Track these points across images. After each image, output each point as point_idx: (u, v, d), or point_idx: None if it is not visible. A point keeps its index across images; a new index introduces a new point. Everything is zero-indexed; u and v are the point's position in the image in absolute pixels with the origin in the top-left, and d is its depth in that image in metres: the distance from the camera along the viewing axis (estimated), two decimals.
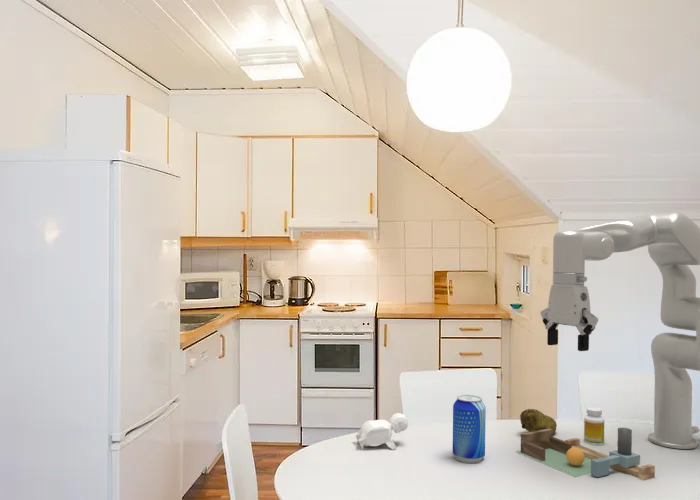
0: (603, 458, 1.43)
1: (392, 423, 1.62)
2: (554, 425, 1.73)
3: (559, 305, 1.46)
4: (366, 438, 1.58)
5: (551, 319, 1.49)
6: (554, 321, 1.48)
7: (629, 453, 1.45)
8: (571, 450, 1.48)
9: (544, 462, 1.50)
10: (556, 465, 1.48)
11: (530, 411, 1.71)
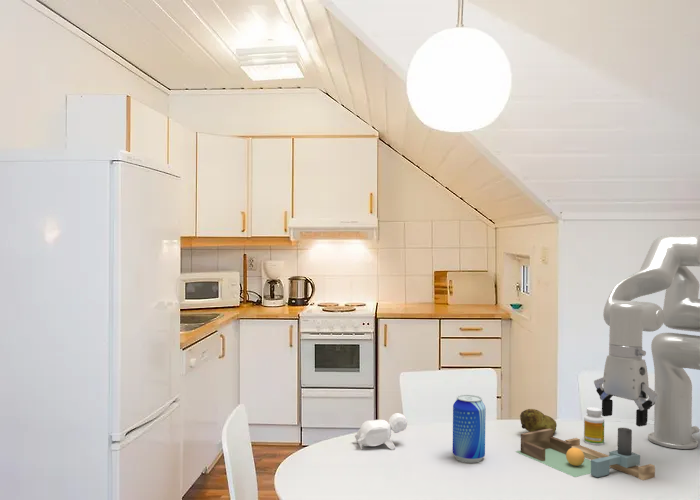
0: (603, 458, 1.43)
1: (391, 423, 1.62)
2: (554, 425, 1.73)
3: (616, 377, 1.45)
4: (365, 438, 1.58)
5: (607, 390, 1.48)
6: (610, 393, 1.47)
7: (629, 453, 1.45)
8: (571, 450, 1.48)
9: (544, 462, 1.50)
10: (556, 465, 1.48)
11: (530, 411, 1.71)
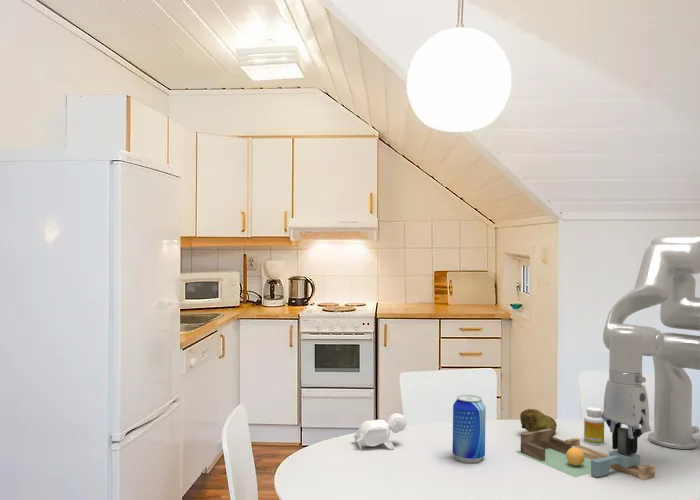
0: (603, 458, 1.43)
1: (390, 423, 1.62)
2: (554, 425, 1.73)
3: (616, 403, 1.45)
4: (364, 438, 1.58)
5: (607, 416, 1.48)
6: (610, 418, 1.47)
7: None
8: (571, 450, 1.48)
9: (544, 462, 1.50)
10: (556, 465, 1.48)
11: (530, 411, 1.71)
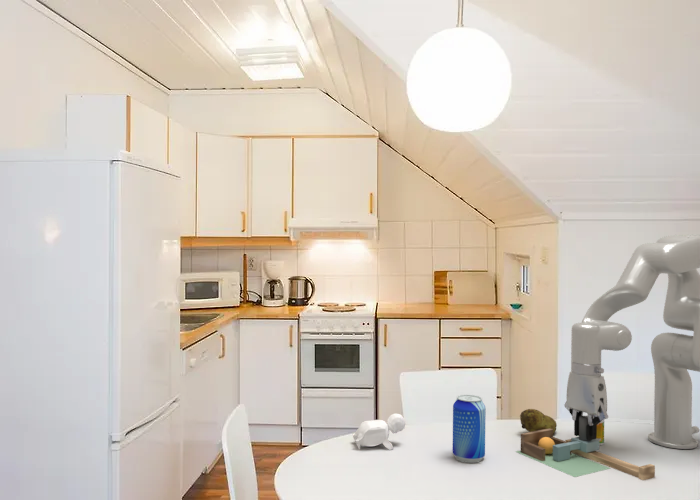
0: (564, 444, 1.53)
1: (389, 423, 1.62)
2: (554, 425, 1.73)
3: (577, 393, 1.56)
4: (363, 438, 1.58)
5: (569, 404, 1.59)
6: (572, 407, 1.58)
7: None
8: (546, 452, 1.55)
9: (544, 462, 1.50)
10: (556, 465, 1.48)
11: (530, 411, 1.71)
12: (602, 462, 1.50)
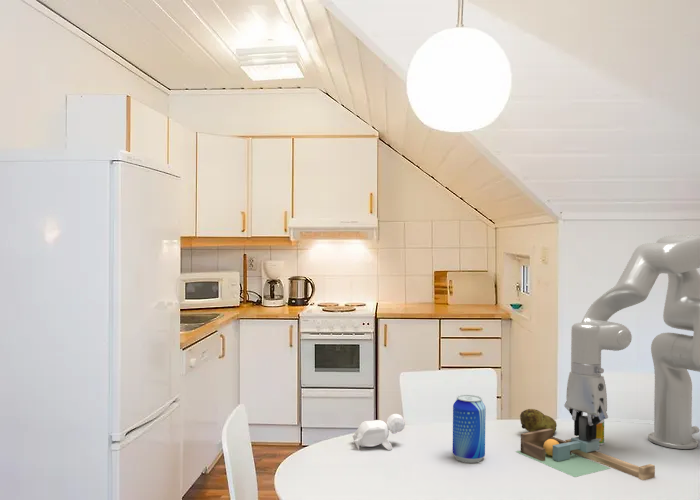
0: (564, 444, 1.53)
1: (389, 424, 1.61)
2: (554, 425, 1.73)
3: (577, 393, 1.56)
4: (362, 438, 1.58)
5: (569, 404, 1.59)
6: (572, 407, 1.58)
7: None
8: (548, 454, 1.55)
9: (544, 462, 1.50)
10: (556, 465, 1.48)
11: (530, 411, 1.71)
12: (602, 462, 1.50)
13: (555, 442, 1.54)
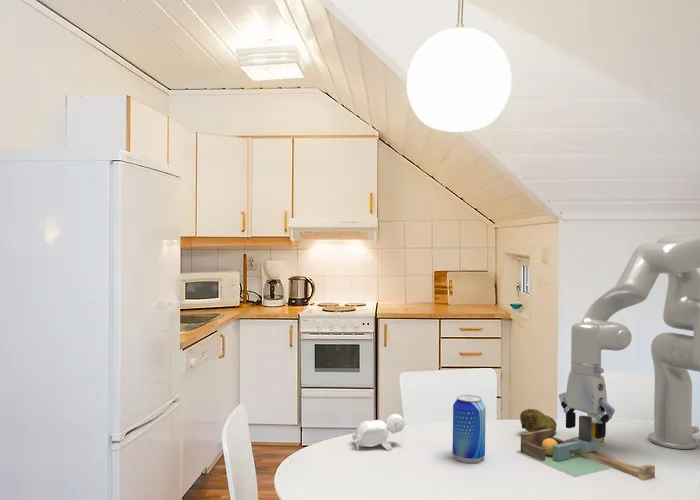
0: (564, 444, 1.53)
1: (388, 424, 1.61)
2: (554, 425, 1.73)
3: (577, 393, 1.56)
4: (362, 438, 1.58)
5: (569, 404, 1.59)
6: (572, 407, 1.58)
7: (589, 439, 1.55)
8: (547, 454, 1.55)
9: (544, 462, 1.50)
10: (556, 465, 1.48)
11: (530, 411, 1.71)
12: (602, 462, 1.50)
13: (552, 440, 1.55)
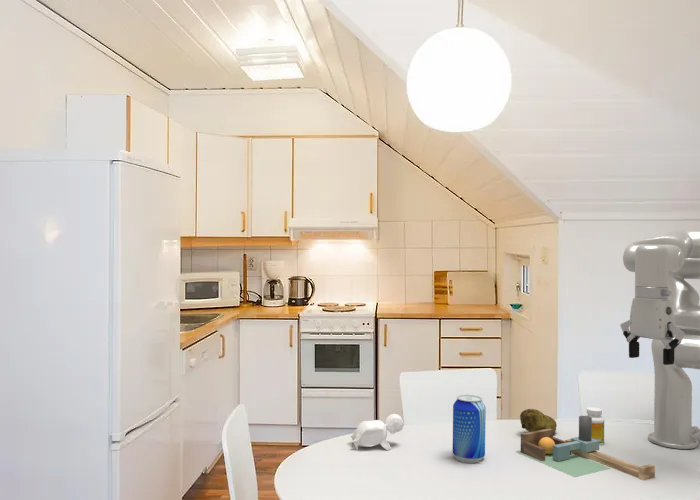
0: (564, 444, 1.53)
1: (387, 424, 1.61)
2: (554, 425, 1.73)
3: (642, 319, 1.47)
4: (361, 438, 1.58)
5: (633, 332, 1.50)
6: (636, 334, 1.49)
7: (589, 439, 1.55)
8: (546, 452, 1.55)
9: (544, 462, 1.50)
10: (556, 465, 1.48)
11: (530, 411, 1.71)
12: (602, 462, 1.50)
13: (545, 437, 1.57)
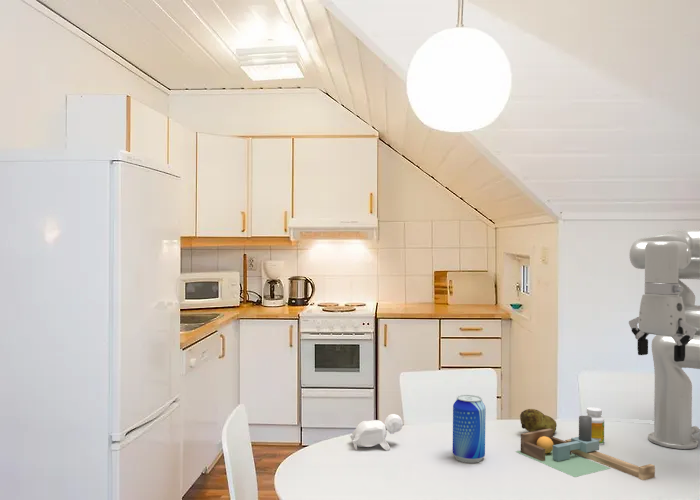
0: (564, 444, 1.53)
1: (386, 424, 1.61)
2: (554, 425, 1.73)
3: (652, 315, 1.46)
4: (360, 439, 1.58)
5: (643, 329, 1.49)
6: (646, 331, 1.48)
7: (589, 439, 1.55)
8: (545, 450, 1.55)
9: (544, 462, 1.50)
10: (556, 465, 1.48)
11: (530, 411, 1.71)
12: (602, 462, 1.50)
13: None
